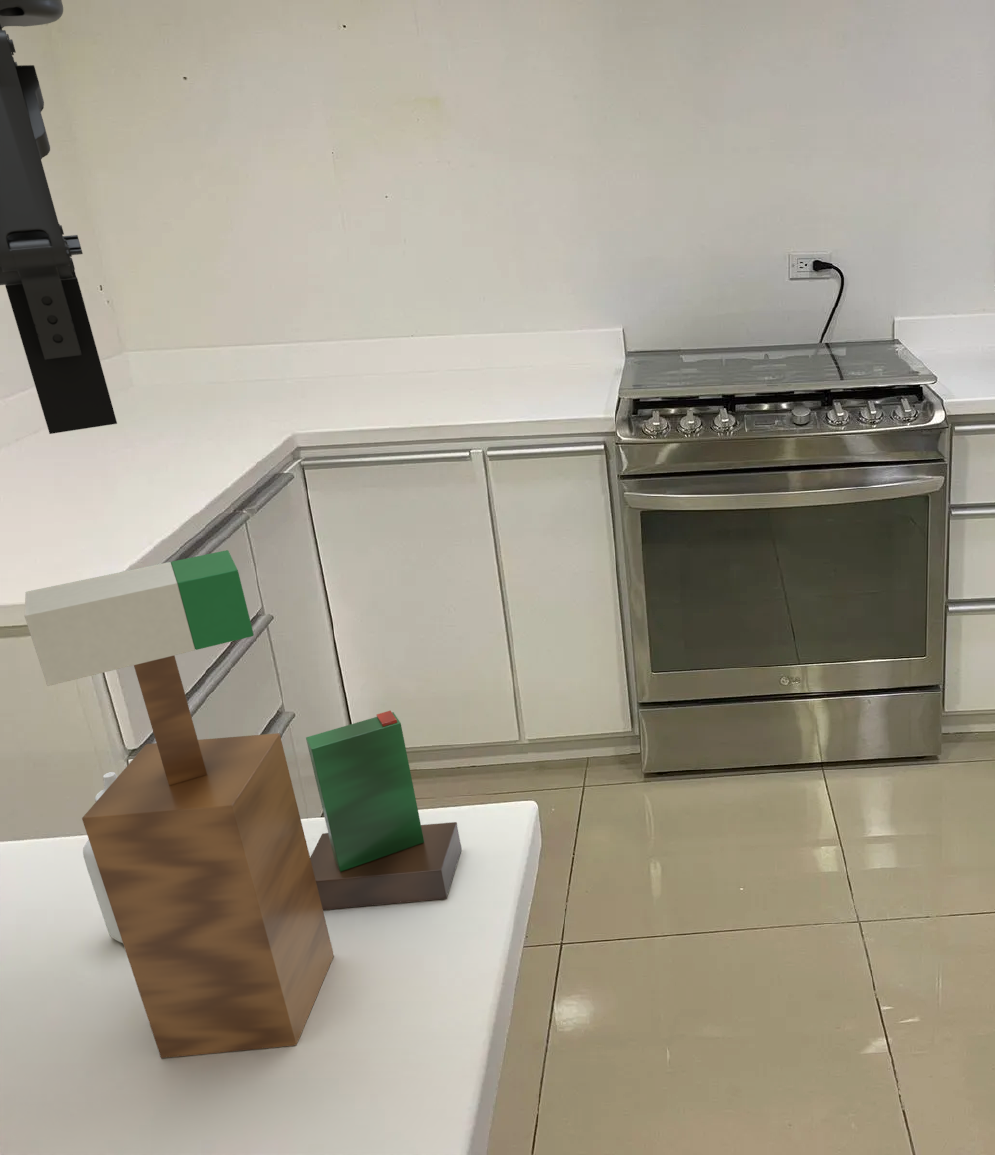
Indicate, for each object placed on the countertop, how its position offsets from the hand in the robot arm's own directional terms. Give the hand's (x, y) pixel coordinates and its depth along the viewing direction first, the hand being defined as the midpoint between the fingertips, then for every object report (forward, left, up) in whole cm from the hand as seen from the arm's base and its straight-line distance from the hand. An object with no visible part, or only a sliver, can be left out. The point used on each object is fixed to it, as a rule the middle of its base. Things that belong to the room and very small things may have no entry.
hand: (80, 403), depth 57 cm
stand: (0, 0, -39) cm, 39 cm away
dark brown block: (+6, +12, -39) cm, 41 cm away
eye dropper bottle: (-10, +10, -39) cm, 41 cm away
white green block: (0, 0, -14) cm, 14 cm away
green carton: (+6, +12, -36) cm, 38 cm away
